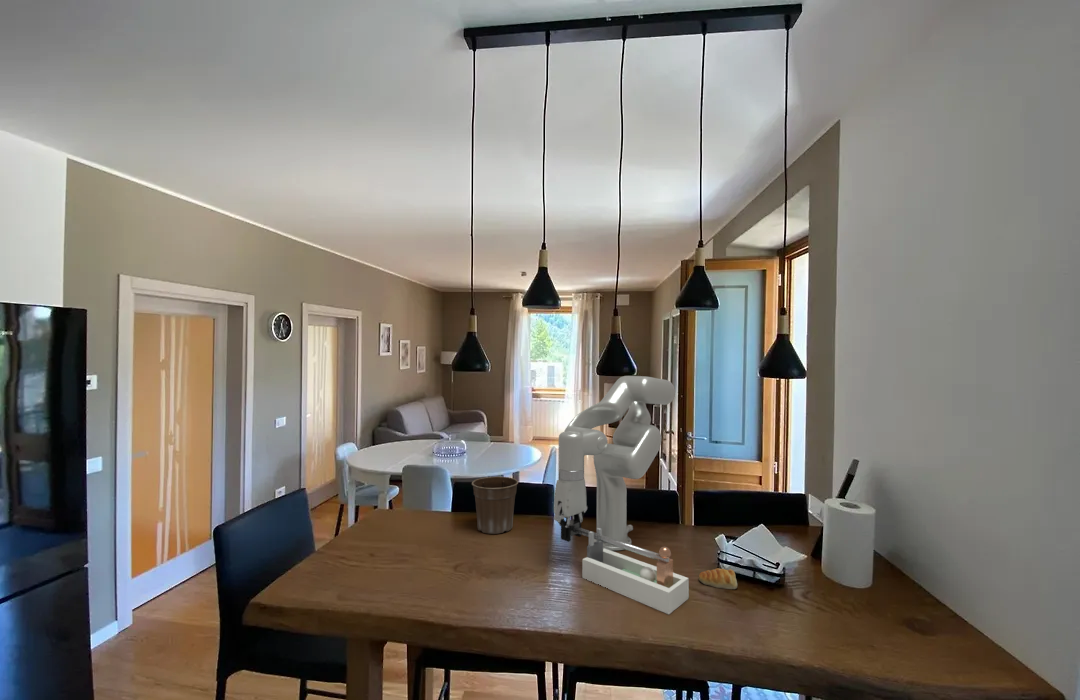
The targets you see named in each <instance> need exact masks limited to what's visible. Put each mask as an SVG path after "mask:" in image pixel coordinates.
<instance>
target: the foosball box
mask: <svg viewBox="0 0 1080 700" xmlns="http://www.w3.org/2000/svg"><path fill="white" fill-rule="evenodd" d="M589 531H590V532H589V537H588V545H586V557H584V558H582V563H581V564H582V568H581V569H582V574H581V575H582V576H581V577H582V579H585V580H586V579H587V581H589V582H591V581H592V582H591V583H593V582H594V584H596V585H598V584H599V585H598V586H600V585H601V587H603V588H605V587H606V589H607V588H608V590H610V591H613V592H614V593H617V594H620V595H622V596H625V597H627V598H629V599H632V600H633V601H636V602H638V603H640V604H642V605H646V606H648V607H650V608H652V609H654V610H657V611H659V612H662V613H664V614H666V615H671V614H672V613H673V612H674V611H675V610H676V609H678V608H679V607H680V606H681V605H683V604H684V603H685V602H686V601H687V600H689V597H690V594H689V592H690V590H689V587H690V586H689V583H690V582H689V580H690V579H689V577H686V576H684V575H681V574H679V573H675V572H673V586H671V587H670V588H667V587H665V586H662V585H660V584H657V565H653V564H650V563H647V562H644V561H641V560H638V559H635V558H633V557H631V556H628V555H625V554H621V553H619V552H616V551H614V550H608V549H605V548H604V549H603V542H602V541H599V540H597V541H596V542H594V533H595V532H594V531H591V530H589ZM596 533H597V534H600V535H602V529H601V528H597V527H596ZM644 567H650V568H652V569H653V570H654V572H655V574H656V579H655V581H654V582H652V581H649V580H646V579H644V578H641V577H640V571H641V569H642V568H644Z"/></svg>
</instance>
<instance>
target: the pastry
mask: <svg viewBox="0 0 1080 700" xmlns="http://www.w3.org/2000/svg"><path fill="white" fill-rule="evenodd" d="M698 580H699V582H701V583H702V584H703V585H705V586H710V587H713V588H717V589H726V590H736V589H737V588H738V581H737V578H736V573H735V570H734V569H731V568H729V569H725V568H720V567H719V568H715V569H714V568H713V569H707V570H705V571H701V572H700V573H699V574H698Z"/></svg>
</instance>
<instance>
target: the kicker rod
mask: <svg viewBox="0 0 1080 700" xmlns="http://www.w3.org/2000/svg"><path fill="white" fill-rule="evenodd" d="M569 527H571V537H572V536H575V534H577V533H579V534H581V536H584V537H588V538H589V532H590V531H591V530H589V529H585V528H582V527H581V528H579V522H577V521H574V520H573V519H570V524H569ZM594 539H596V540H599V541H602V542H605V543H608V544H611V545H614V546H617V547H620V548H622V549H624V550H626V551H629V552H631V553H635V554H637V555H641V556H643V557H646V558H650V559H652V560H655V561H657V562H656V567H657V584H660V585H662V586H665V587H667V588H670V587H671V586H673V573H674V559H673V558H670V557H671V556H672V553H671V550H670V549H671V548H669V547H667V546H661V547H660V548H659V551H658V552H655V551H652V550H649V549H645V548H642V547H639V546H637V545H633V544H632V543H631V544H628V543H625V542H622V541H619V540H616V539H613V538H610V537H607V536H603V535H600V534H597V532H594Z"/></svg>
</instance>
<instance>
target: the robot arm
mask: <svg viewBox="0 0 1080 700" xmlns="http://www.w3.org/2000/svg"><path fill="white" fill-rule="evenodd" d="M675 389H676V388H675V386H674V384H673V383H672V382H671V381H670V380H668V379H662V378H657V377H652V376H643V375H642V376H641V375H624V376H620V377H619V378H618V379H616V381H615V382H614V383H613V385H612V386H611V387H610V388H609V390H608V391H607V392H606V394H605V395H604V397H603V398H602V399H601V400H600V401H599V402H598V403H595V404H593V405H591V406H590V407H587V408H585V409H584V410H582V411H581V412H579V413H578V414H576V415H575V416H574V417H573V418H572V419H571V421H570V422H569V423H568V424H567V426H566V427H565V429H564V431H562V432H560V433H559V435H558V469H557V470H558V475H557V476H558V477H557V480H556V484H555V489H554V496H553V497H554V498H553V499H554V501H553V513H554V516H553V520H554V521H555V522H557V523H558V524H559V526H560V539H561V540H563V541H566V542H568V543H569V542H571V541H572V540H571V537H572V536H571V527H569V524H570V520H571V517H572V520H574V521H577V522H579V528H582V522H583V520H584V519H583V518H584V516H585V513H586V512H587V510H588V505H587V488H586V487H587V486H586V480H585V456H593V465H594V470H595V477H596V529H597V528H601V529H602V535H603V536H607V537H610V538H613V539H616V540H619V541H622V542H625V543H628V544H631V545H632V539H631V538H630V537H629V536H628V534H629V532H631V531H633V530H634V526H633V525H632V524H627V494H628V493H627V485H626V482H625V479H624V478H626V479H631V480H639V479H641V478H642V477H643V476H644V475H645V474H646V473H647V471H648V469H649V468H650V466H651V465H652V463H653V462H654V461H655V460H654V459H655V457H656V456H657V455H658V452H659V451H660V448H661V444H662V434H661V431H660V429H659V428H658V427H657V426H655V425H653V424H651V423H652V418H651V414H650V412H649V410H648V408H647V404H650V405H665V406H666V405H669V404H670V403H672V402H673V400H674V399H675V395H676V390H675ZM626 412H627V413H626ZM624 415H625V416H624ZM623 417H624V418H623ZM622 418H623V419H622ZM621 419H622V420H621ZM620 420H621V422H620V423H619V424H618V426H617V427H616V429H615V431H614V432H613V435H612V442H613V443H608V438H607V435H606V434H605V433H604V432H603V431H601V430H598V429H594V428H597V427H600V426H604V425H609V424H612V423H615V422H619V421H620ZM574 536H575V537H578V538H580V537H582V535H581V534H579V533H577V534H575V535H574ZM596 541H597V540H596V539H594V542H596ZM604 548H605V549H608V550H611V551H614V552H616V551H624V550H625V549H622V548H620V547H617V546H614V545H611V544H608V543H605V542H603V549H604Z"/></svg>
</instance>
